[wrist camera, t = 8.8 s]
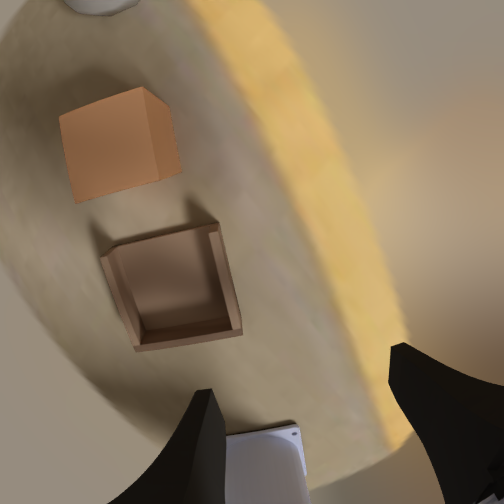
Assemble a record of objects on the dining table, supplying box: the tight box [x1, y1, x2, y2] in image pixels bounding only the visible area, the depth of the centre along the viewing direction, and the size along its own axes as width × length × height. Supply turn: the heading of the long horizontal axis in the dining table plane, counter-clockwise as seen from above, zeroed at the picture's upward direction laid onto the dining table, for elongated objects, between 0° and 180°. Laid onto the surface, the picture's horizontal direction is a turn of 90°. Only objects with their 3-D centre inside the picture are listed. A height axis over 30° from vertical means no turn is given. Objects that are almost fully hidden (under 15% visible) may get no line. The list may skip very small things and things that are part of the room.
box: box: [100, 222, 243, 352], centre depth 19 cm, size 6×7×2 cm
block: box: [59, 87, 182, 204], centre depth 14 cm, size 4×4×6 cm
